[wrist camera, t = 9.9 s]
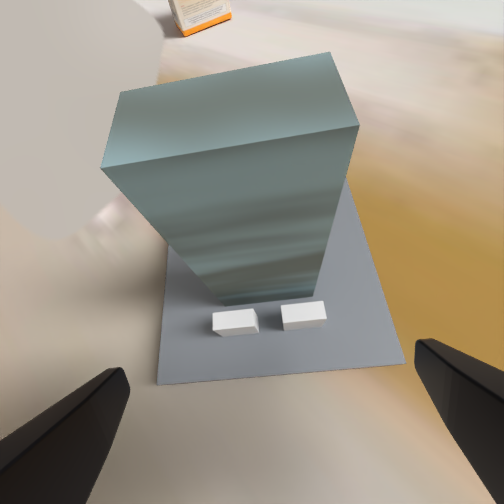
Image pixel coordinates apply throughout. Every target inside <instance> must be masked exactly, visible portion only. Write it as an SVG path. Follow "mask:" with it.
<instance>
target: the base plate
mask: <svg viewBox="0 0 504 504" xmlns="http://www.w3.org/2000/svg"><path fill="white" fill-rule="evenodd" d="M400 364H406V361H405V358H404V355H403V352H402V349H401V346H400V343H399V340H398V337H397V333H396V330H395V327H394V324H393V321H392V318H391V315H390V312H389V309H388V306H387V303H386V299H385V296H384V293H383V290H382V287H381V284H380V281H379V278H378V275H377V272H376V269H375V265H374V262H373V259H372V256H371V253H370V250H369V247H368V244H367V241H366V238H365V234H364V231H363V228H362V225H361V222H360V219H359V216H358V213H357V210H356V207H355V204H354V200H353V197H352V194H351V191H350V188H349V185H348V182H347V179H346V177H345V181H344V184H343V188H342V192H341V195H340V199H339V203H338V206H337V210H336V214H335V217H334V221H333V225H332V228H331V232H330V236H329V239H328V243H327V247H326V250H325V254H324V258H323V261H322V265H321V269H320V272H319V276H318V280H317V283H316V287H315V291H314V294H313V297H307V298H298V299H289V300H280V301H272V302H263V303H254V304H245V305H236V306H227V307H225V306H224V305H223V304H222V303H221V302H220V300H219V299H218V298H217V297H216V296H215V295H214V294H213V293H212V292H211V290H210V289H209V288H208V287H207V286H206V285H205V284H204V283H203V282H202V280H201V279H200V278H199V277H198V276H197V275H196V274H195V273H194V272H193V271H192V269H191V268H190V267H189V266H188V265H187V264H186V263H185V262H184V261H183V259H182V258H181V257H180V256H179V255H178V254H177V253H176V252H175V251H174V249H173V248H172V247H171V246H170V245H169V246H168V258H167V270H166V281H165V293H164V305H163V317H162V329H161V340H160V352H159V364H158V376H157V385H170V384H182V383H193V382H205V381H216V380H228V379H239V378H251V377H263V376H274V375H286V374H297V373H309V372H320V371H332V370H344V369H355V368H367V367H378V366H390V365H400Z"/></svg>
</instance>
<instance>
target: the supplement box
mask: <svg viewBox="0 0 504 504" xmlns="http://www.w3.org/2000/svg"><path fill="white" fill-rule="evenodd" d="M168 2H169V5H170V8H171V11H172V14H173V17H174V20H175V23H176V25H177V27H178V28H179V29H180V31H181V32H182V33H183V35H184V36H185V37H186V36H188V35H191V34H193V33H195V32H198V31H200V30H203V29H205V28H207V27H210V26H212V25H215V24H218V23H220V22H223V21H225V20H228V19H230V18H231V17H232V15H231V9H230V3H229V0H168Z"/></svg>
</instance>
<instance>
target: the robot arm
mask: <svg viewBox="0 0 504 504" xmlns="http://www.w3.org/2000/svg"><path fill="white" fill-rule="evenodd" d="M414 364H415V369H416V371H417V373H418V375H419V377H420V379H421V381H422V382H423V384H424V386H425V388H426V390H427V392H428V394H429V396H430V397H431V399H432V401H433V403H434V405H435V407H436V409H437V411H438V412H439V414H440V416H441V418H442V420H443V422H444V423H445V425H446V427H447V429H448V430H449V432H450V433H451V435H452V436H453V438H454V440H455V441H456V443H457V444H458V446H459V447H460V449H461V450H462V452H463V453H464V455H465V456H466V458H467V459H468V461H469V462H470V464H471V465H472V467H473V469H474V470H475V472H476V473H477V475H478V476H479V478H480V479H481V481H482V482H483V484H484V485H485V487H486V488H487V490H488V491H489V493H490V494H491V496H492V498H493V499H494V501H495V502H496V504H504V371H502V370H499V369H497V368H495V367H493V366H491V365H489V364H487V363H484V362H482V361H480V360H478V359H476V358H474V357H471V356H469V355H467V354H465V353H463V352H461V351H459V350H456V349H454V348H452V347H450V346H448V345H446V344H443V343H441V342H439V341H437V340H435V339H431V338H429V339H419V340H417V341H416V343H415V359H414ZM129 395H130V386H129V383H128V380H127V378H126V375H125V372H124V370H123V369H122V368H120V367H116V368H109V369H106V370H105V371H103V372H102V373H100V374H99V375H97V376H96V377H95V378H93V379H92V380H90V381H89V382H87V383H86V384H84V385H83V386H81V387H80V388H78V389H77V390H75V391H74V392H72V393H71V394H69V395H68V396H66V397H65V398H63V399H62V400H60V401H59V402H57V403H56V404H54V405H53V406H51V407H50V408H48V409H47V410H45V411H44V412H42V413H41V414H39V415H38V416H36V417H35V418H33V419H32V420H30V421H29V422H27V423H26V424H25V425H23V426H22V427H20V428H19V429H17V430H16V431H14V432H13V433H11V434H10V435H8V436H7V437H5V438H4V439H2V440H1V441H0V504H86V502H87V500H88V498H89V496H90V493H91V491H92V489H93V487H94V484H95V482H96V480H97V478H98V476H99V473H100V471H101V469H102V467H103V464H104V462H105V460H106V458H107V455H108V453H109V451H110V448H111V446H112V443H113V440H114V438H115V435H116V432H117V429H118V426H119V424H120V421H121V418H122V415H123V412H124V409H125V407H126V404H127V401H128V398H129Z"/></svg>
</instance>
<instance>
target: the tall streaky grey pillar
mask: <svg viewBox="0 0 504 504" xmlns="http://www.w3.org/2000/svg"><path fill="white" fill-rule="evenodd" d="M359 126H360V124H359V122H358V119H357V117H356V114H355V112H354V109H353V107H352V105H351V102H350V100H349V97H348V95H347V92H346V90H345V87H344V85H343V83H342V80H341V78H340V75H339V73H338V70H337V68H336V65H335V63H334V61H333V58H332V56H331V53H330V52H326V53H321V54H316V55H311V56H305V57H300V58H295V59H290V60H285V61H279V62H274V63H269V64H264V65H259V66H253V67H248V68H243V69H238V70H233V71H227V72H222V73H217V74H212V75H207V76H201V77H196V78H191V79H186V80H181V81H175V82H170V83H165V84H160V85H155V86H149V87H144V88H139V89H134V90H129V91H124V92H120V96H119V100H118V103H117V107H116V111H115V115H114V118H113V123H112V126H111V130H110V134H109V137H108V141H107V145H106V149H105V153H104V157H103V160H102V164H101V167H100V168H101V170H103V172H104V173H105V174H106V175H107V176H108V177H109V178H110V179H111V180H112V182H113V183H114V184H115V185H116V186H117V187H118V188H119V189H120V191H121V192H122V193H123V194H124V195H125V196H126V197H127V198H128V199H129V201H130V202H131V203H132V204H133V205H134V206H135V207H136V208H137V209H138V211H139V212H140V213H141V214H142V215H143V216H144V217H145V218H146V219H147V221H148V222H149V223H150V224H151V225H152V226H153V227H154V228H155V229H156V231H157V232H158V233H159V234H160V235H161V236H162V237H163V238H164V239H165V241H166V242H167V243H168V244H169V245H170V246H171V247H172V248H173V249H174V251H175V252H176V253H177V254H178V255H179V256H180V257H181V258H182V259H183V261H184V262H185V263H186V264H187V265H188V266H189V267H190V268H191V269H192V271H193V272H194V273H195V274H196V275H197V276H198V277H199V278H200V279H201V280H202V282H203V283H204V284H205V285H206V286H207V287H208V288H209V289H210V290H211V292H212V293H213V294H214V295H215V296H216V297H217V298H218V299H219V300H220V302H221V303H222V304H223V305H224V306H225V307H227V306H236V305H245V304H254V303H263V302H272V301H280V300H289V299H298V298H307V297H313V294H314V291H315V287H316V283H317V280H318V276H319V272H320V269H321V265H322V261H323V258H324V254H325V250H326V247H327V243H328V239H329V236H330V232H331V228H332V225H333V221H334V217H335V214H336V210H337V206H338V203H339V199H340V195H341V192H342V188H343V184H344V181H345V177H346V174H347V170H348V166H349V163H350V159H351V155H352V152H353V148H354V144H355V141H356V137H357V133H358V130H359Z"/></svg>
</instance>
